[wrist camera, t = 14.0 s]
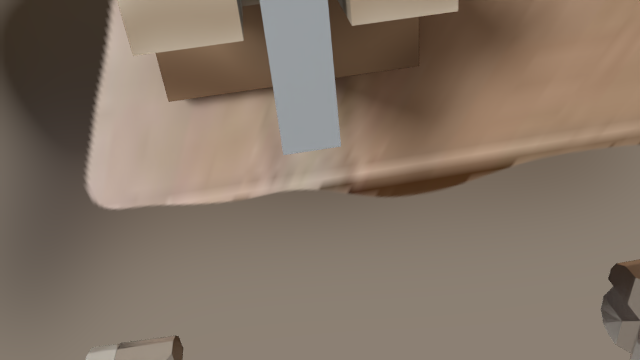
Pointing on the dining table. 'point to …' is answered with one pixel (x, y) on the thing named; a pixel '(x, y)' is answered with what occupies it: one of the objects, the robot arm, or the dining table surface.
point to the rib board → (250, 44)
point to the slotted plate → (302, 73)
